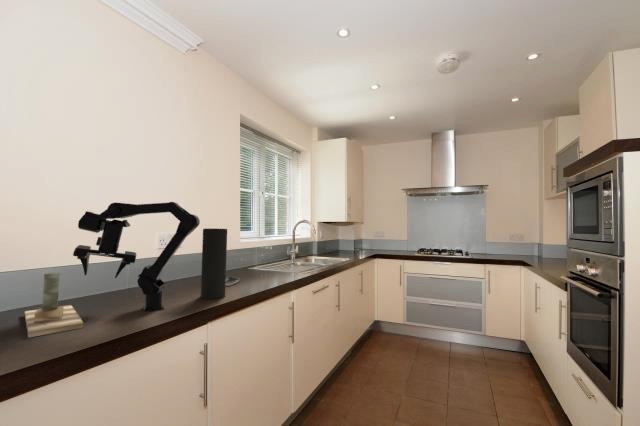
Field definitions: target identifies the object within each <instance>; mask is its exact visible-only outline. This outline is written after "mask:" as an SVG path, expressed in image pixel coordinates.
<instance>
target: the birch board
mask: <svg viewBox="0 0 640 426" xmlns="http://www.w3.org/2000/svg"><path fill="white" fill-rule="evenodd" d="M63 306H64V309H63V316H62V318H61V320H58V321H49V322H41V323H34V318H35V312H36V311H37V310H38V309H32V310H25V311H24V319H25V325H26V333H27V337H28V338H32V337H38V336H39V337H40V336H45V335H50V334H56V333H60V332H66V331H67V332H68V331H71V330H77V329H82V328H84V322H83V320H82V318H81V317H80V315H79V314H78V313H77V311H76V310H75V308H74V307H73V306H72V304H69V305H67V304H66V305H63Z"/></svg>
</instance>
